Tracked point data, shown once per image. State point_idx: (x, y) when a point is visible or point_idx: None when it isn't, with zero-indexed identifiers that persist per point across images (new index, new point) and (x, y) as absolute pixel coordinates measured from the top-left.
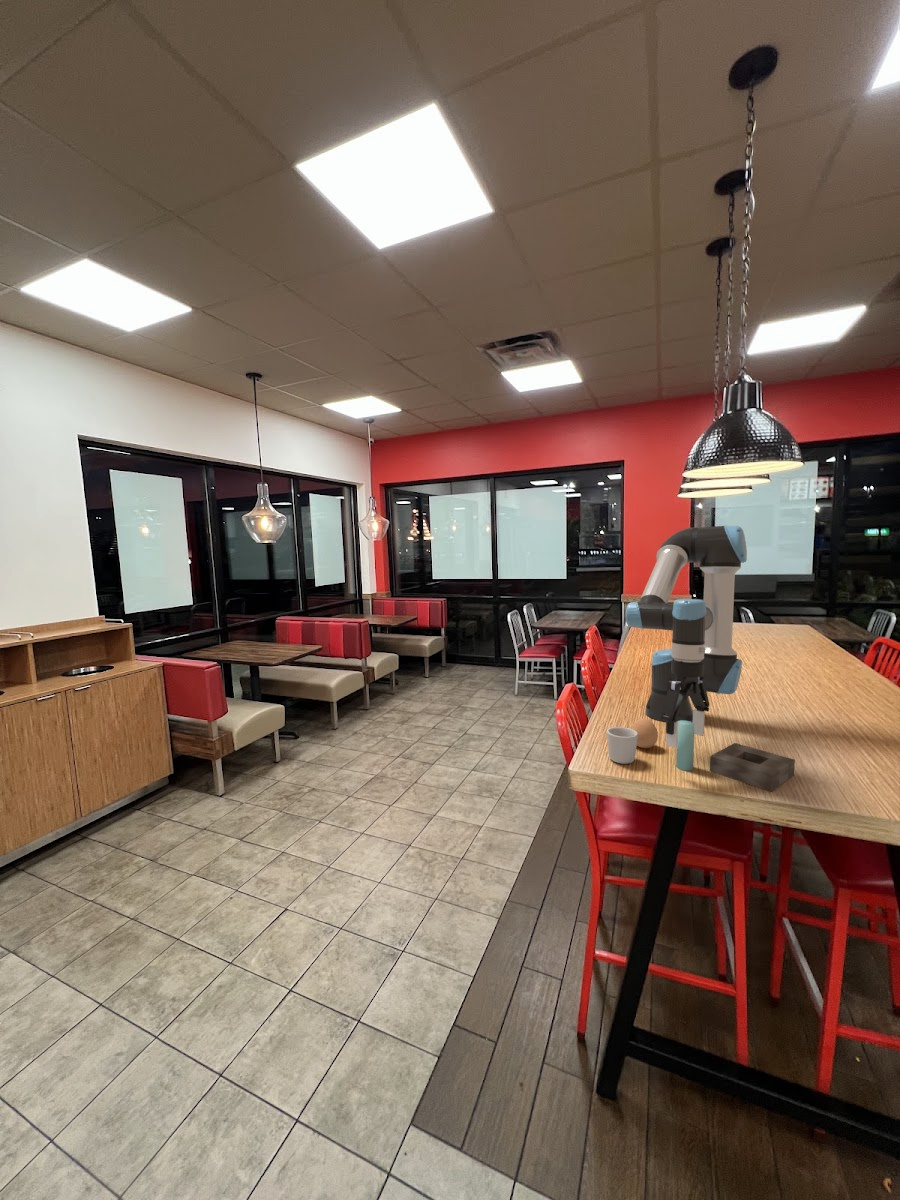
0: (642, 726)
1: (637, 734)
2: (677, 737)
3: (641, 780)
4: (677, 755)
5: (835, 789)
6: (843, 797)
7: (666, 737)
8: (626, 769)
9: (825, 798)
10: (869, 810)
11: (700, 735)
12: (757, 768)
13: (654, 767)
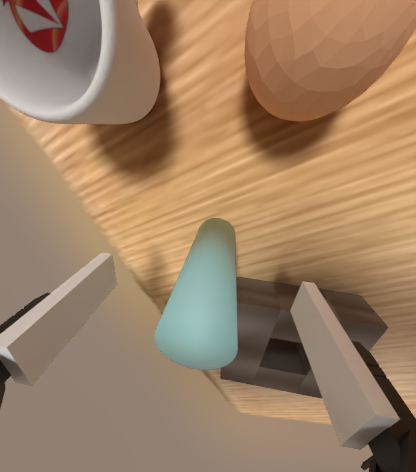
0: (279, 18)
1: (76, 113)
2: (93, 311)
3: (76, 191)
4: (196, 238)
5: (291, 392)
6: (268, 395)
7: (80, 272)
8: (88, 130)
9: (250, 384)
10: (248, 406)
11: (292, 305)
12: (234, 364)
13: (161, 182)
